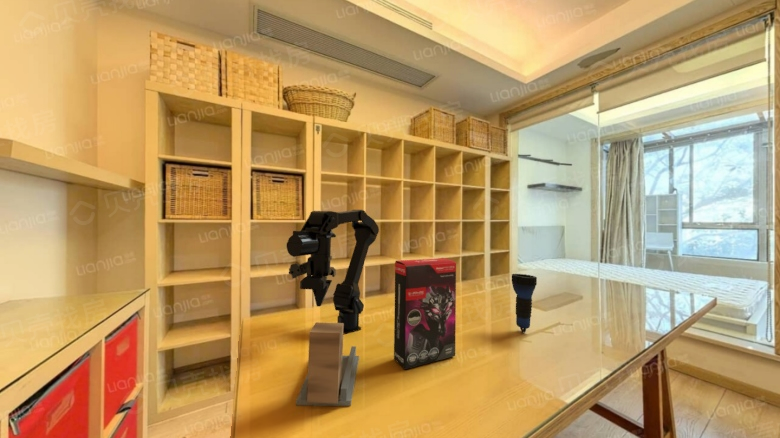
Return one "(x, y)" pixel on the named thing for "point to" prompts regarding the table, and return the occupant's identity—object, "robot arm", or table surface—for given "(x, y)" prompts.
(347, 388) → the chute
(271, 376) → the table surface
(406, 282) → the graphics card box
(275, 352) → the table surface
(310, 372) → the block
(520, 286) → the flashlight
